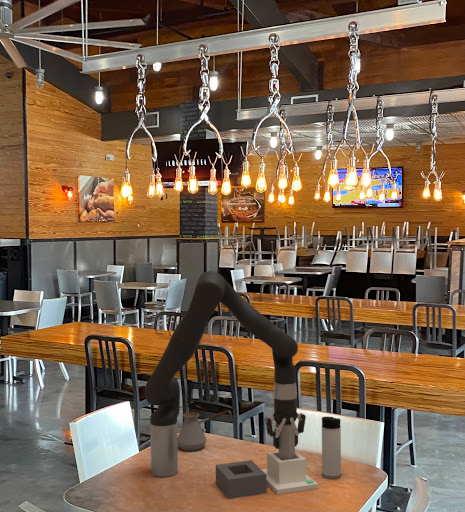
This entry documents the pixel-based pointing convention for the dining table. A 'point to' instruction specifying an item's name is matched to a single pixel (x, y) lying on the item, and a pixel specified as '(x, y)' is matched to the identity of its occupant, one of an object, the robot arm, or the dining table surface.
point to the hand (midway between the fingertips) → (285, 446)
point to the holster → (240, 479)
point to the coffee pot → (193, 431)
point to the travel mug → (331, 448)
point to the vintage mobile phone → (287, 442)
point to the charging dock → (287, 474)
